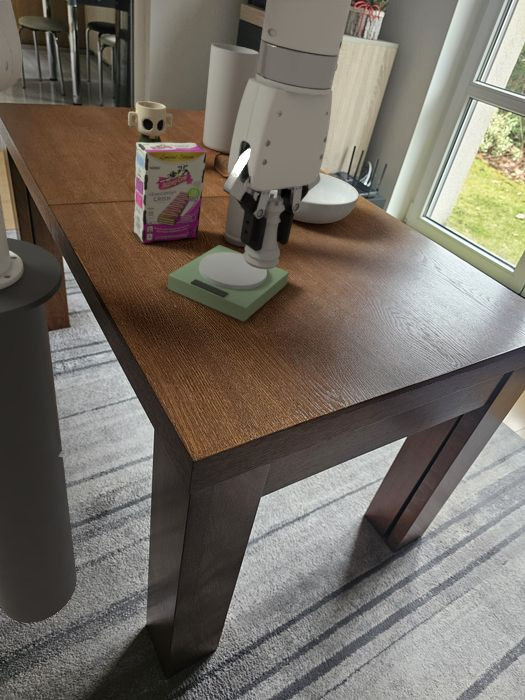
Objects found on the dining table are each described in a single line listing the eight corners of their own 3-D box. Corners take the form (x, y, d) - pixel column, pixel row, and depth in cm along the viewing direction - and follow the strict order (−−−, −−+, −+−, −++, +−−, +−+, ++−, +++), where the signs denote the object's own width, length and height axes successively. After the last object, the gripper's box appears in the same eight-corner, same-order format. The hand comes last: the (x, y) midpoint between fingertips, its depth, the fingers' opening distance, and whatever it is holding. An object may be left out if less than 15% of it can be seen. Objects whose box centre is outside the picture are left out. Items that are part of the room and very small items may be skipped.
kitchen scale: (243, 322, 76) (246, 303, 74) (167, 288, 80) (168, 270, 78) (286, 284, 87) (290, 267, 85) (217, 257, 91) (219, 240, 89)
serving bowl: (276, 190, 124) (281, 162, 120) (358, 213, 120) (366, 184, 116) (246, 217, 108) (251, 185, 104) (340, 244, 104) (349, 212, 100)
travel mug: (218, 233, 99) (230, 126, 87) (249, 232, 102) (265, 128, 90) (228, 248, 95) (242, 137, 83) (260, 247, 97) (279, 139, 85)
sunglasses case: (225, 176, 124) (223, 148, 123) (215, 182, 131) (212, 155, 130) (288, 177, 132) (287, 150, 131) (276, 182, 138) (274, 156, 137)
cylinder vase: (193, 144, 144) (201, 43, 129) (219, 138, 153) (229, 43, 138) (229, 156, 140) (241, 54, 125) (253, 150, 149) (267, 53, 134)
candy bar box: (143, 245, 90) (145, 151, 80) (133, 233, 93) (133, 141, 84) (199, 238, 96) (207, 150, 86) (188, 227, 99) (194, 141, 89)
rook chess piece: (275, 274, 59) (289, 209, 54) (238, 265, 59) (249, 199, 55) (281, 258, 63) (294, 195, 58) (246, 249, 63) (256, 186, 58)
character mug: (131, 165, 122) (132, 107, 114) (124, 155, 127) (124, 99, 119) (175, 165, 127) (178, 110, 119) (166, 156, 132) (168, 102, 124)
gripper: (325, 64, 56) (292, 220, 67) (203, 55, 46) (187, 240, 57) (378, 81, 52) (333, 244, 63) (256, 76, 42) (228, 271, 53)
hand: (264, 241), depth 60 cm, fingers closed on rook chess piece, 3 cm apart
